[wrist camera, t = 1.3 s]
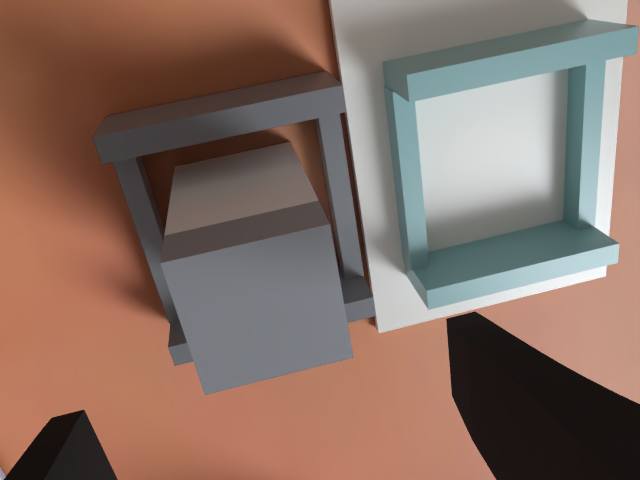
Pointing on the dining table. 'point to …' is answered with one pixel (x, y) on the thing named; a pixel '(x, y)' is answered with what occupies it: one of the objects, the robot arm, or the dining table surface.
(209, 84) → the dining table surface
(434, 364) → the dining table surface
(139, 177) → the grey arch stand
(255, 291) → the plug
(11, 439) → the dining table surface
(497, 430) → the robot arm
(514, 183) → the port
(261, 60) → the dining table surface
